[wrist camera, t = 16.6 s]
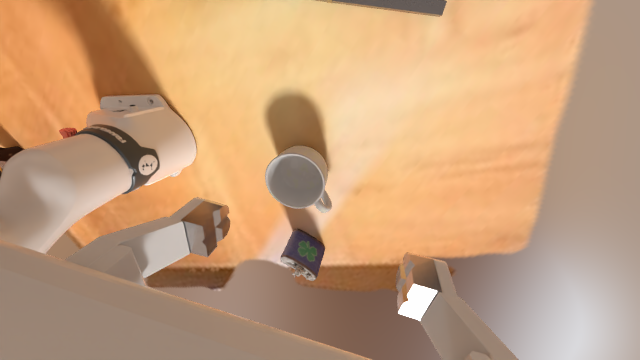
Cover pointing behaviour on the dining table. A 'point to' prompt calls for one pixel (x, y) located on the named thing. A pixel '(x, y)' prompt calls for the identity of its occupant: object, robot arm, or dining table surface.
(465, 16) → the dining table surface
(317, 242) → the flask
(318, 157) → the teacup
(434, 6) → the press frame
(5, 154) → the coffee mug
